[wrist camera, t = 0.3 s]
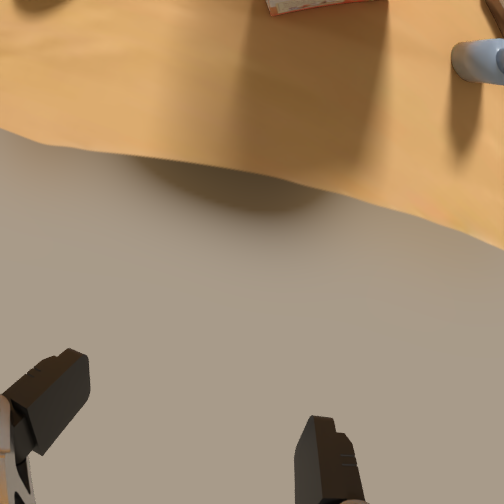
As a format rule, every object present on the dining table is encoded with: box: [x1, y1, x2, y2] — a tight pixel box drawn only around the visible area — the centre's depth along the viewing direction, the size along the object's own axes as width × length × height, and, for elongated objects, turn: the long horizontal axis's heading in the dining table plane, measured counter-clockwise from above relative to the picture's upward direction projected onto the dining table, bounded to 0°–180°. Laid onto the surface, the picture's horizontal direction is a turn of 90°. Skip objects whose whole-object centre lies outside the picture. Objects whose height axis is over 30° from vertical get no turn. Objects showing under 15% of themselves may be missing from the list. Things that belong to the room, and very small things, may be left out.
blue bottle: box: [451, 38, 504, 85], centre depth 21 cm, size 5×5×11 cm
